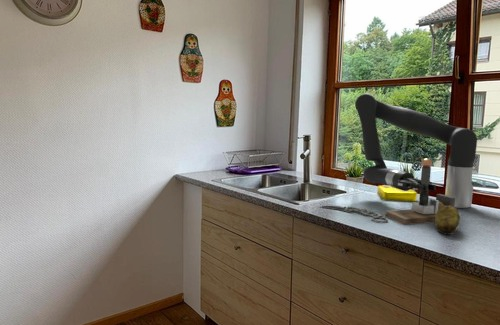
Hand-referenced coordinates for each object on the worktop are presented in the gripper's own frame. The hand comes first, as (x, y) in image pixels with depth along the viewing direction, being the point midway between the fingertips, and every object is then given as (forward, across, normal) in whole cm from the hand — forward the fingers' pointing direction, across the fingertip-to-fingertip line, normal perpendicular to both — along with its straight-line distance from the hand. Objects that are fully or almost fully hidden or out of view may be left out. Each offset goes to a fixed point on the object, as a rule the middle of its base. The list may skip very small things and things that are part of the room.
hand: (430, 188), depth 132 cm
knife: (-14, -21, +13) cm, 29 cm away
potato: (+12, -3, +12) cm, 17 cm away
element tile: (-36, +13, +13) cm, 40 cm away
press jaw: (-3, +1, +10) cm, 10 cm away
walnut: (-3, +7, +10) cm, 12 cm away
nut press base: (-3, -1, +12) cm, 12 cm away
